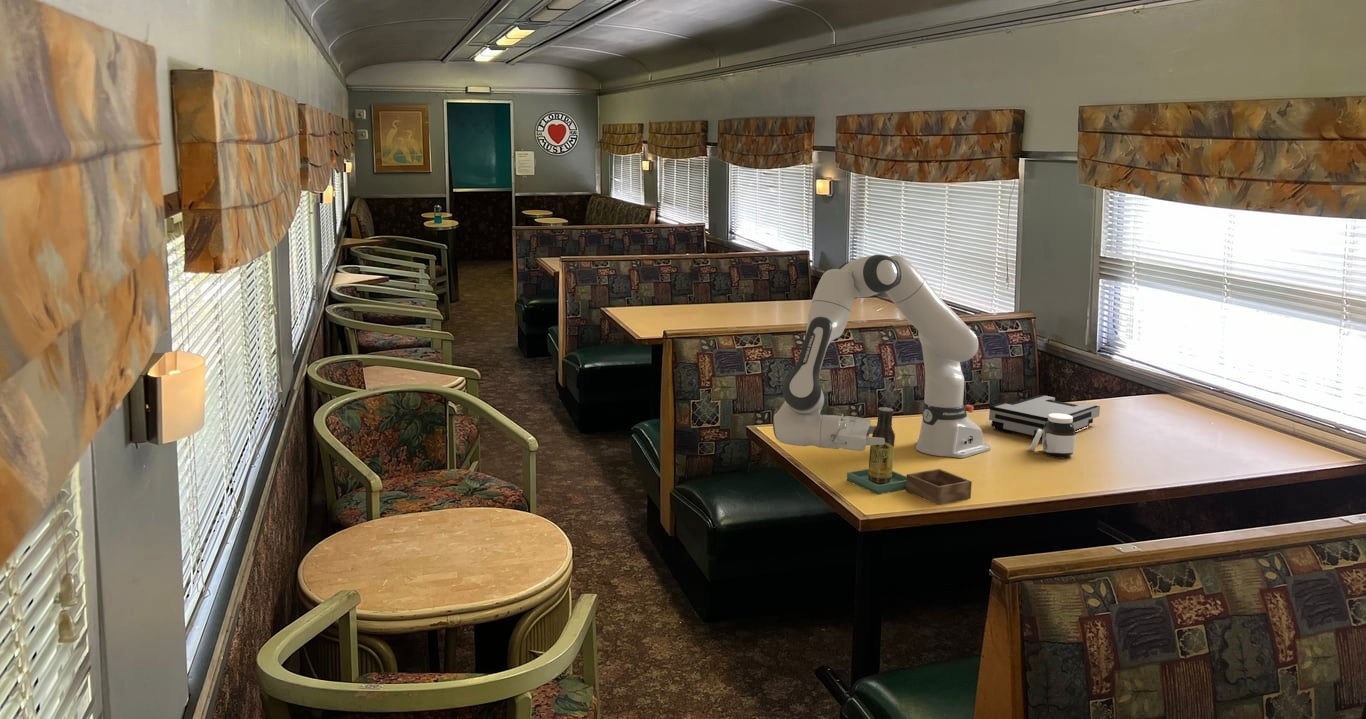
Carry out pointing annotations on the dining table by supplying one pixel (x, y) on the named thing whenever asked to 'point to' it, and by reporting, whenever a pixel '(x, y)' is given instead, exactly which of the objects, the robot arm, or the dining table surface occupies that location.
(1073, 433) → the spread jar
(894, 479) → the tray
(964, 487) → the caddy
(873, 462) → the sauce bottle
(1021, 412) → the game console
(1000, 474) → the dining table surface
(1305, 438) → the dining table surface
